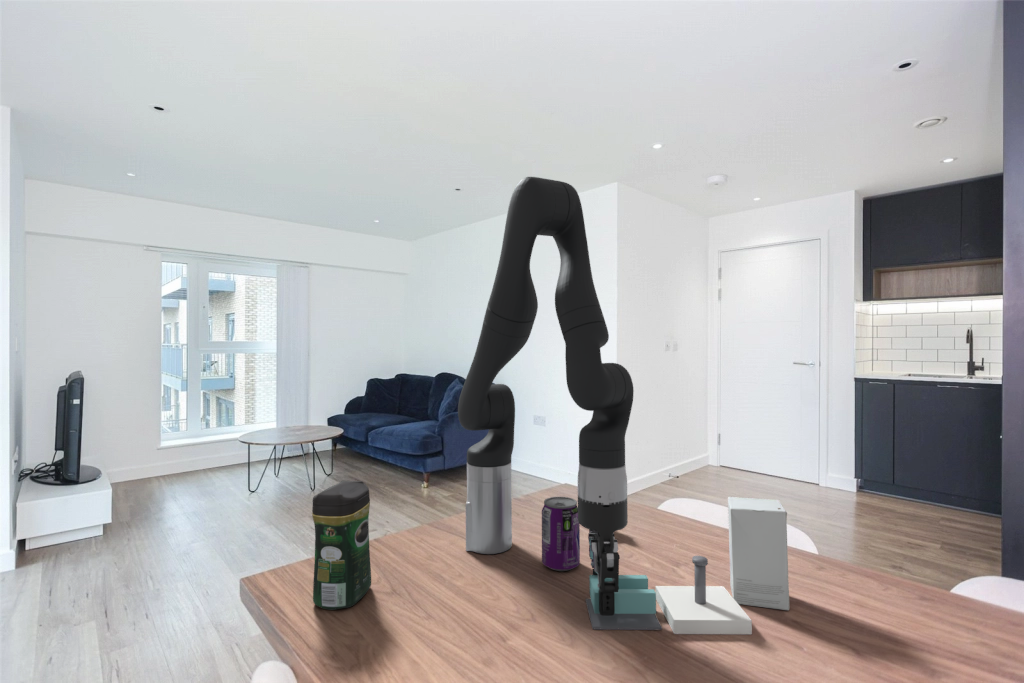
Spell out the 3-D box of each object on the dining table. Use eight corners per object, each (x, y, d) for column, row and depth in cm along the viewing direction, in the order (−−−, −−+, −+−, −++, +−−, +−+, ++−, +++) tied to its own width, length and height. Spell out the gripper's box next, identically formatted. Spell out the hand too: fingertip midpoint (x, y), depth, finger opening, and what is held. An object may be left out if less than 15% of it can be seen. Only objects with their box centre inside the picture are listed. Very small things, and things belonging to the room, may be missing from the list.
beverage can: (578, 575, 89) (578, 508, 89) (539, 572, 91) (539, 506, 91) (581, 558, 96) (580, 496, 96) (544, 555, 98) (544, 494, 98)
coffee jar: (335, 581, 88) (334, 475, 88) (377, 584, 86) (377, 477, 86) (303, 610, 78) (302, 492, 78) (350, 614, 77) (349, 494, 77)
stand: (674, 633, 71) (673, 573, 71) (655, 598, 81) (655, 545, 81) (751, 634, 71) (751, 574, 71) (723, 598, 81) (723, 545, 81)
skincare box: (782, 593, 82) (781, 499, 83) (790, 613, 76) (789, 512, 76) (727, 585, 85) (727, 494, 85) (731, 604, 79) (730, 506, 79)
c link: (594, 613, 73) (594, 593, 73) (589, 593, 79) (589, 574, 79) (656, 613, 73) (655, 593, 73) (646, 593, 79) (646, 575, 79)
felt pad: (592, 629, 72) (592, 626, 72) (585, 601, 80) (585, 598, 80) (661, 629, 72) (661, 627, 72) (647, 601, 80) (647, 598, 80)
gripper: (573, 480, 84) (573, 581, 83) (583, 508, 69) (584, 630, 69) (617, 480, 83) (618, 581, 83) (637, 508, 69) (638, 630, 69)
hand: (603, 602), depth 76 cm, fingers closed on c link, 5 cm apart
